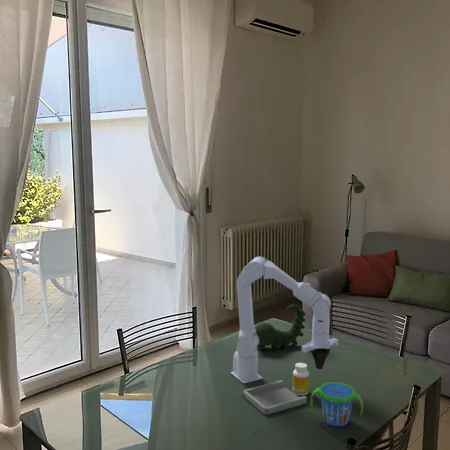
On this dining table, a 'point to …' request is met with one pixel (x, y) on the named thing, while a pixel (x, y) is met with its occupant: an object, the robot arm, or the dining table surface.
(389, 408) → the dining table surface
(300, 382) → the supplement bottle
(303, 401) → the tray
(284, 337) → the toy figurine
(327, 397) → the snack cup
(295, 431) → the dining table surface
